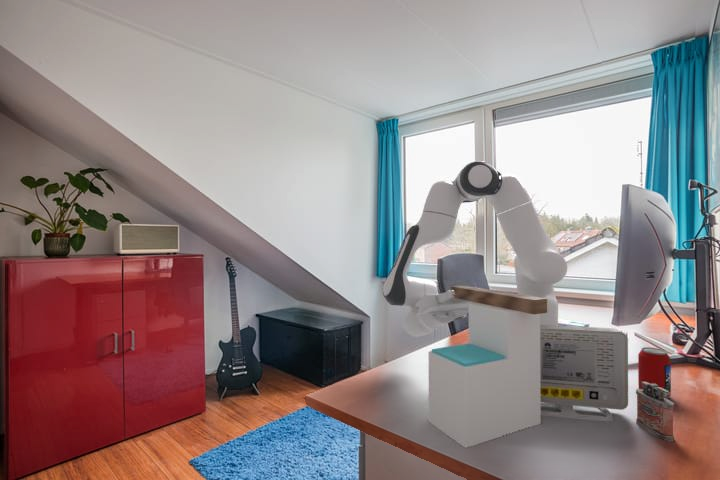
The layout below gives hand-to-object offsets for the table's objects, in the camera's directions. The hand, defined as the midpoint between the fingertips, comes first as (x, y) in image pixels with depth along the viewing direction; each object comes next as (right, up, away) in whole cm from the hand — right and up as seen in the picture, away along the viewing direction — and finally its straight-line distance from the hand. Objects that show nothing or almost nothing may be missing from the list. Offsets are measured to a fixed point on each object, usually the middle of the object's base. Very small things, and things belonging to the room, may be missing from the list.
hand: (466, 291), depth 97 cm
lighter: (+36, -28, -18) cm, 49 cm away
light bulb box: (+51, -28, +40) cm, 70 cm away
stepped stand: (0, -28, -14) cm, 31 cm away
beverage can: (+50, -28, +1) cm, 58 cm away
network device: (+22, -28, -7) cm, 36 cm away
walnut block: (+4, -2, -8) cm, 9 cm away
